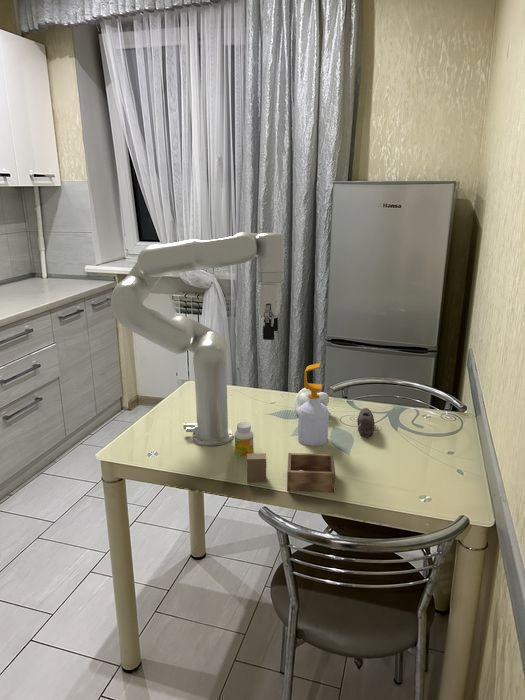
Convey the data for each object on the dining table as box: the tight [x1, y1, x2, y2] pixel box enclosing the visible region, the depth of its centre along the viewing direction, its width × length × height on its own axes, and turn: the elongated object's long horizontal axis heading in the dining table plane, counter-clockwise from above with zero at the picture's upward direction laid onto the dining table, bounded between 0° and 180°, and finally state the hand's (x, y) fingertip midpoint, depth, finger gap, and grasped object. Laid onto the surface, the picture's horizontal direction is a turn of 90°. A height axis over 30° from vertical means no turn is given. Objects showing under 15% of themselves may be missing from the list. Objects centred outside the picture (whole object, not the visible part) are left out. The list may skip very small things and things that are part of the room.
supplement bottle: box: [234, 421, 255, 459], centre depth 152 cm, size 5×5×10 cm
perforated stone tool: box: [357, 407, 375, 438], centre depth 168 cm, size 15×5×7 cm, turn 170°
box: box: [286, 452, 336, 494], centre depth 138 cm, size 12×10×6 cm
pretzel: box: [293, 387, 330, 416], centre depth 179 cm, size 11×12×9 cm
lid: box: [246, 452, 267, 484], centre depth 139 cm, size 13×11×8 cm
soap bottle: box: [297, 362, 330, 447], centre depth 159 cm, size 9×9×25 cm
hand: (270, 335), depth 156 cm, fingers open, 9 cm apart
